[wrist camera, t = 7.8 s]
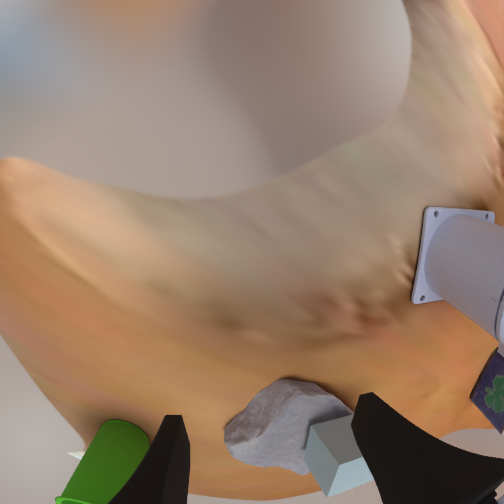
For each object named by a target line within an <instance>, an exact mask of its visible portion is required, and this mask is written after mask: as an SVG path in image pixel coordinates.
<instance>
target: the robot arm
mask: <svg viewBox="0 0 504 504" xmlns="http://www.w3.org/2000/svg"><path fill="white" fill-rule="evenodd" d="M434 212H436V213H435V216H434ZM494 220H495V214H494V212H492V211H484V210H472V209H460V208H446V207H427V208H426V209H425V213H424V222H423V231H422V239H421V246H420V253H419V259H418V265H417V271H416V277H415V282H414V287H413V292H412V297H411V301H412V302H413V303H414V304H420V303H426V302H432V301H438V300H443V299H444V300H445V301H446V302H448V303H449V304H451V305H452V306H453V307H455V308H456V309H457V310H459V311H460V312H461V313H463V314H464V315H465V316H467V317H468V318H469V319H471V320H472V321H473V322H475V323H476V324H477V325H479V326H480V327H481V328H482V329H484V330H485V331H486V332H488V333H489V334H490V335H491V336H493V337H494V338H495V339H496V340H498V341H499V347H498V353H499V354H501V355H502V356H503V357H504V227H503V226H500V225H498V224H495V223H494ZM421 296H422V297H421ZM420 298H421V299H420ZM351 428H352V431H353V434H354V437H355V440H356V443H357V446H358V448H359V450H360V452H361V454H362V456H363V458H364V460H365V462H366V464H367V466H368V468H369V470H370V472H371V474H372V476H373V478H374V480H375V482H376V485H377V487H378V490H379V493H380V496H381V499H382V502H383V504H504V495H503V496H501V497H500V498H499V499H498V500H497V501H496V500H495V498H494V497H495V496H497V493H496V492H495V489H496V488H497V487H498V486H499V485H500V484H501V483H502V482H503V481H504V459H502V458H495V457H488V456H483V455H479V454H475V453H471V452H468V451H465V450H462V449H459V448H457V447H454V446H452V445H450V444H447V443H445V442H443V441H441V440H439V439H437V438H435V437H433V436H432V435H430V434H428V433H427V432H425V431H423V430H422V429H420V428H419V427H417V426H416V425H414V424H413V423H411V422H410V421H409V420H407V419H406V418H404V417H403V416H402V415H400V414H399V413H398V412H397V411H395V410H394V409H393V408H392V407H390V406H389V405H388V404H387V403H385V402H384V401H383V400H382V399H380V398H379V397H378V396H377V395H376V394H374V393H373V392H370V393H366V394H362V395H360V396H359V399H358V403H357V406H356V409H355V413H354V416H353V419H352V422H351ZM189 474H190V442H189V439H188V436H187V432H186V429H185V425H184V422H183V418H182V415H166V416H165V417H164V419H163V421H162V423H161V426H160V428H159V430H158V432H157V434H156V436H155V438H154V440H153V442H152V444H151V445H150V447H149V449H148V451H147V452H146V454H145V456H144V458H143V459H142V461H141V462H140V464H139V465H138V467H137V468H136V470H135V471H134V473H133V474H132V476H131V477H130V478H129V480H128V481H127V482H126V483H125V485H124V486H123V487H122V488H121V489H120V491H119V492H118V493H117V494H116V495H115V496H114V497H113V498H112V499H111V500H110V501H109V502H108V503H107V504H187V495H188V484H189Z"/></svg>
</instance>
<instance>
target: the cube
mask: <svg viewBox="0 0 504 504" xmlns="http://www.w3.org/2000/svg"><path fill="white" fill-rule="evenodd" d="M353 416H354V414H352V415H349V416H345V417H342V418H338V419H334V420H330V421H327V422H323V423H319V424H314V425H311V427H310V432H309V436H308V441H307V445H306V450H305V454H304V459H303V460H304V462H305V463H306V465H307V467H308V468H309V470H310V471H311V473H312V475H313V476H314V478H315V480H316V481H317V483H318V484H319V486H320V487H321V489H322V491H323V492H324V494H325V495H326V497H329V496H332V495H335V494H338V493H341V492H344V491H347V490H349V489H352V488H354V487H357V486H359V485H362V484H364V483H367V482H369V481H371V480H374V478H373V476H372V474H371V472H370V470H369V468H368V466H367V464H366V462H365V460H364V458H363V456H362V454H361V452H360V450H359V448H358V446H357V443H356V440H355V437H354V434H353V431H352V428H351V422H352V419H353Z"/></svg>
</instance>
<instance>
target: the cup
mask: <svg viewBox="0 0 504 504" xmlns="http://www.w3.org/2000/svg"><path fill="white" fill-rule="evenodd" d="M148 449H149V440H148V438H147V435H146V434H145V433H144V432H143V431H142V430H141V429H140V428H138V427H137V426H135V425H133V424H131V423H128V422H125V421H120V420H110V421H107V422H105V424H103V425H102V426H101V427H100V429H99V430H98V432H97V434H96V435H95V437H94V439H93V440H92V442H91V444H90V446H89V447H88V449H87V451H86V452H85V454H84V456H83V458H82V459H81V461H80V463H79V465H78V466H77V468H76V470H75V472H74V473H73V476H72V477H71V479H70V481H69V482H68V484H67V486H66V488H65V490H64V491H63V493H62V495H61V496H59V497H56V498H55V501H56V504H107V503H108V502H109V501H110V500H111V499H112V498H113V497H114V496H115V495H116V494H117V493H118V492H119V491H120V489H121V488H122V487H123V486H124V485H125V483H126V482H127V481H128V480H129V478H130V477H131V476H132V474H133V473H134V471H135V470H136V468H137V467H138V465H139V464H140V462H141V461H142V459H143V458H144V456H145V454H146V452H147V451H148Z"/></svg>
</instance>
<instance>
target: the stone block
mask: <svg viewBox="0 0 504 504" xmlns="http://www.w3.org/2000/svg"><path fill="white" fill-rule="evenodd" d="M354 413H355V412H353V411H352V410H351V409H350V408H349V407H347V406H345V405H344V404H343V402H342V401H341V400H339V399H338V398H336V397H335V396H334V395H333V394H331V393H328V392H325V391H324V390H323V389H322V388H320V387H318V386H317V385H316V384H315V383H312V382H303V381H297V380H290V379H278V380H277V381H275V382H273V383H272V384H271V385H269V386H268V387H266V388H265V389H263V390H261V391H260V392H259V393H257V394H256V396H255V397H254V398H253V399H252V401H251V402H250V403H248V405H247V407H246V409H244V410H243V411H242V412H240V413H239V414H238V415H236V416H235V417H234V418H233V420H232V421H231V422H230V423H229V424H228V425H227V426H226V428H225V432H224V434H225V435H224V443H225V445H226V446H227V449H228V451H229V452H230V454H231V455H232V456H233V457H234V458H236V459H238V460H240V461H242V462H243V463H245V464H250V465H255V466H261V467H271V466H279V467H283V468H285V469H290V470H292V471H293V472H295V473H297V474H299V475H305V474H308V473H309V472H310V470H309V468H308V467H307V465H306V463H305V462H304V460H303V459H304V454H305V450H306V445H307V441H308V436H309V432H310V427H311V425H314V424H319V423H323V422H327V421H330V420H334V419H338V418H342V417H345V416H349V415H352V414H354Z"/></svg>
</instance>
